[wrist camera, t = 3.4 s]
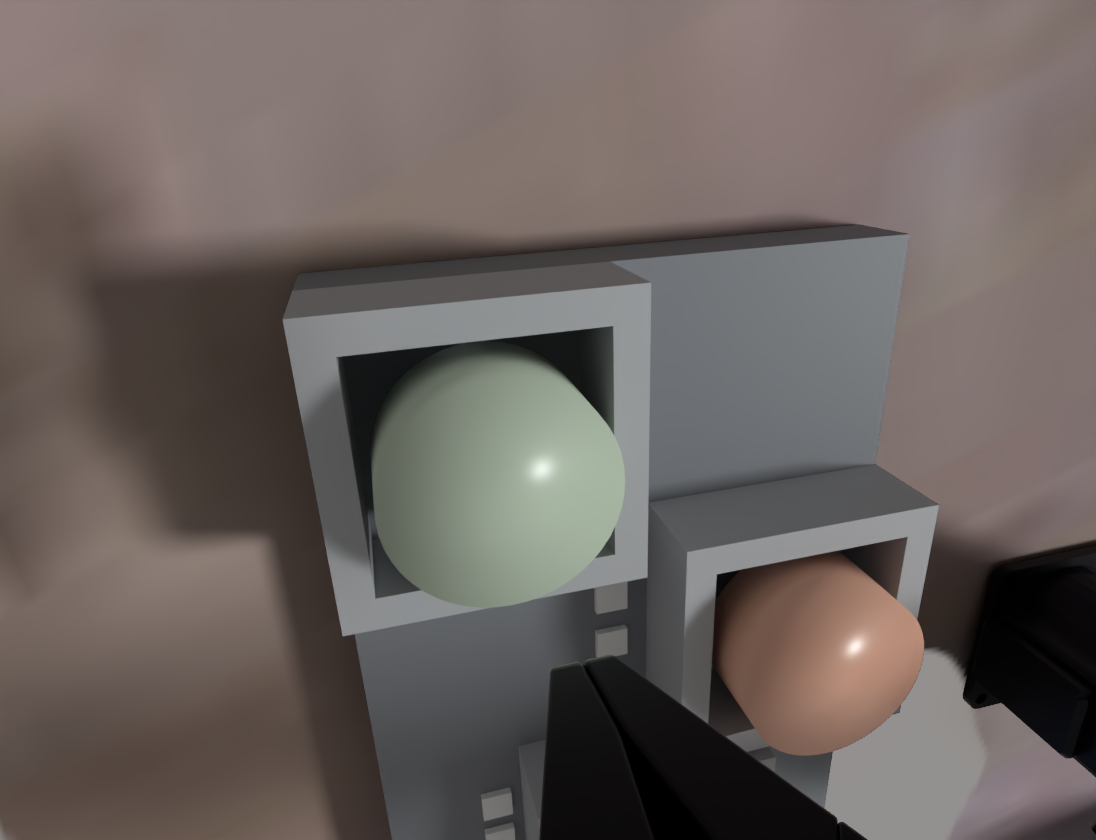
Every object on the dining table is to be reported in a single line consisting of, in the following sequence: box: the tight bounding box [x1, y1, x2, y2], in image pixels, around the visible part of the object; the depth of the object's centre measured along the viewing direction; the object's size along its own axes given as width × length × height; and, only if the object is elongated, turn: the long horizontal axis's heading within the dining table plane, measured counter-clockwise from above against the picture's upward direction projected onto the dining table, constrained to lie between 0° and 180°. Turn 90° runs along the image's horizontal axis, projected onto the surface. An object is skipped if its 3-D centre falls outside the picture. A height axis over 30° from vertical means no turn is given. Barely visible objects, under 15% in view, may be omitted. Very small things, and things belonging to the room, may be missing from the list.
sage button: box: [370, 341, 625, 608], centre depth 15 cm, size 5×5×2 cm
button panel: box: [283, 225, 939, 840], centre depth 20 cm, size 15×21×4 cm
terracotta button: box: [712, 551, 924, 756], centre depth 19 cm, size 5×5×2 cm
